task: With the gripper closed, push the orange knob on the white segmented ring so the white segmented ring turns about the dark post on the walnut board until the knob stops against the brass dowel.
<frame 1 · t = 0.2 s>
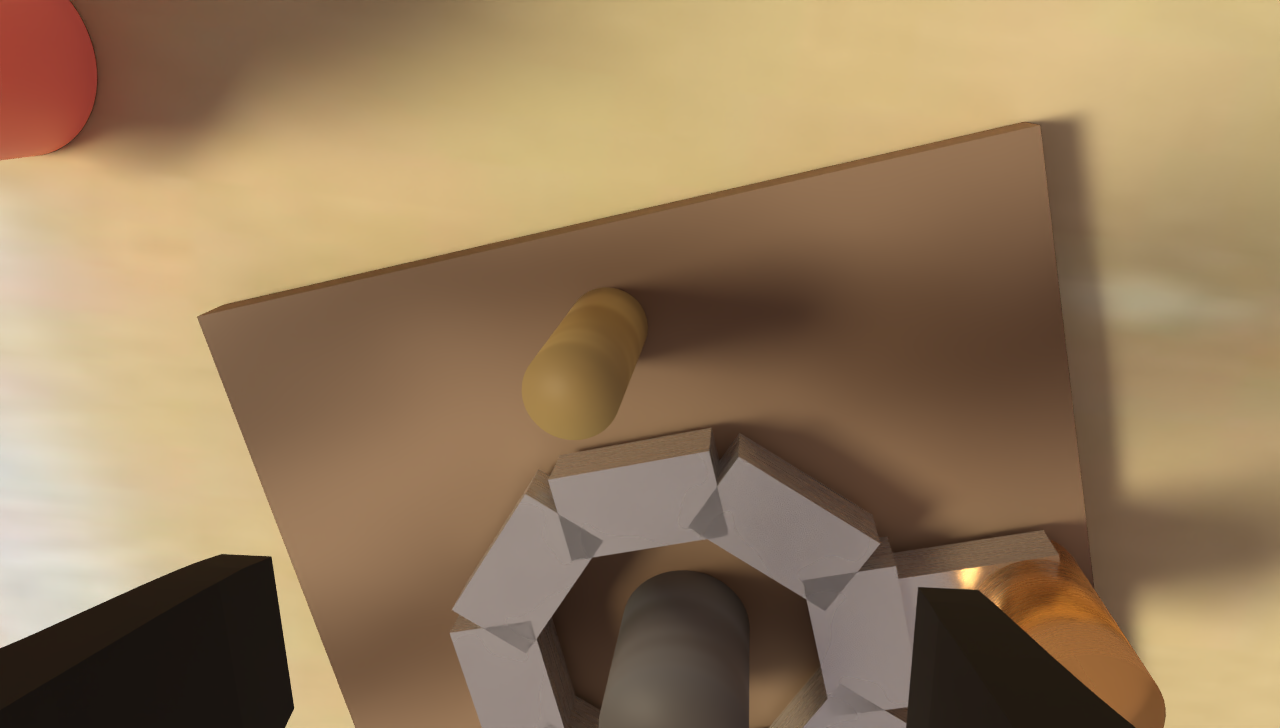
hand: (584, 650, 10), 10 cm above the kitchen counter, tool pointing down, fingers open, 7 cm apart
white segmented ring: (768, 681, 18), point 3 cm above the kitchen counter, hinge at 0.0°
peg base: (688, 601, 21), on the kitchen counter
figurine: (20, 54, 19), on the kitchen counter
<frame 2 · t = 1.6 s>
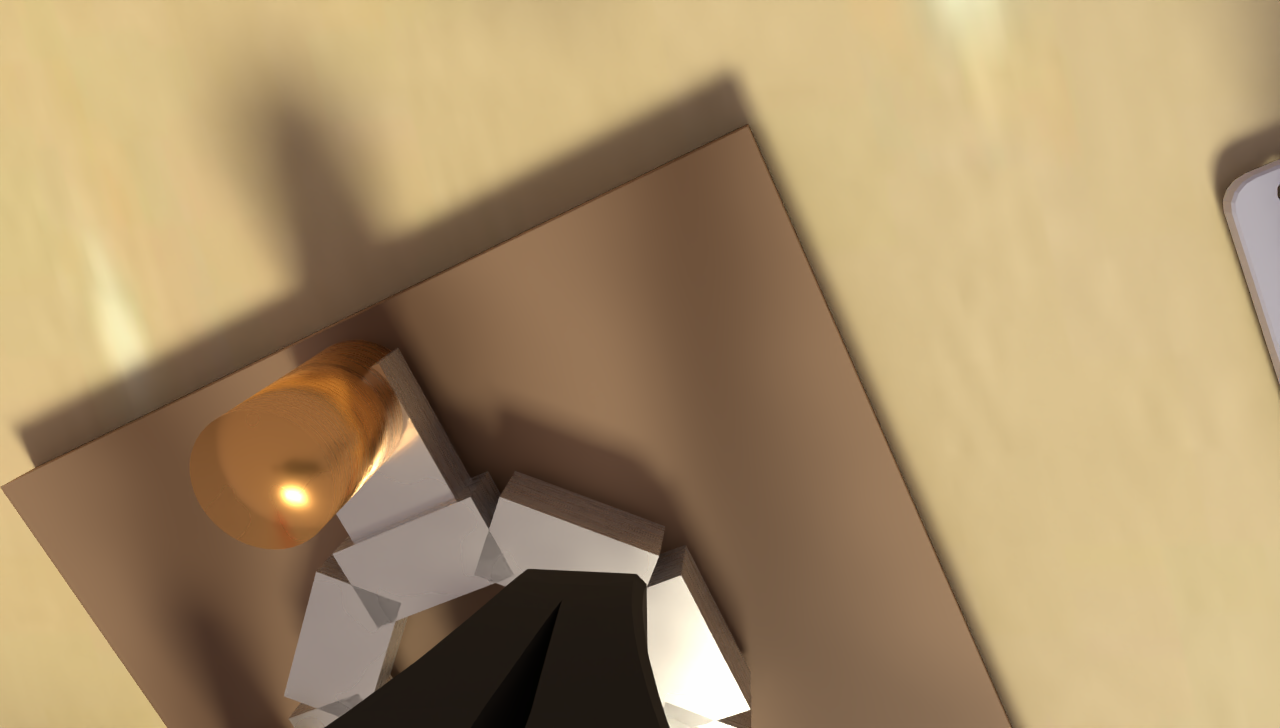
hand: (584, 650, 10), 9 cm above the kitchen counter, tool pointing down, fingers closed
white segmented ring: (456, 667, 18), point 3 cm above the kitchen counter, hinge at 0.0°
peg base: (538, 642, 21), on the kitchen counter
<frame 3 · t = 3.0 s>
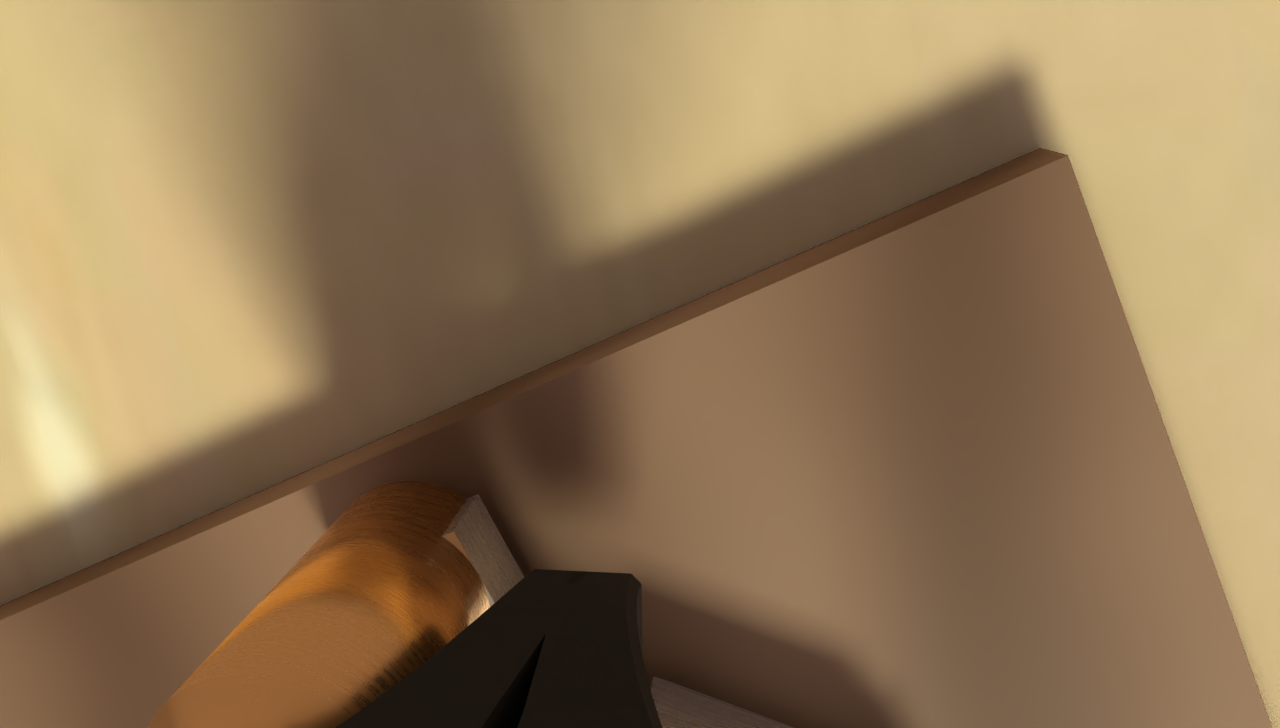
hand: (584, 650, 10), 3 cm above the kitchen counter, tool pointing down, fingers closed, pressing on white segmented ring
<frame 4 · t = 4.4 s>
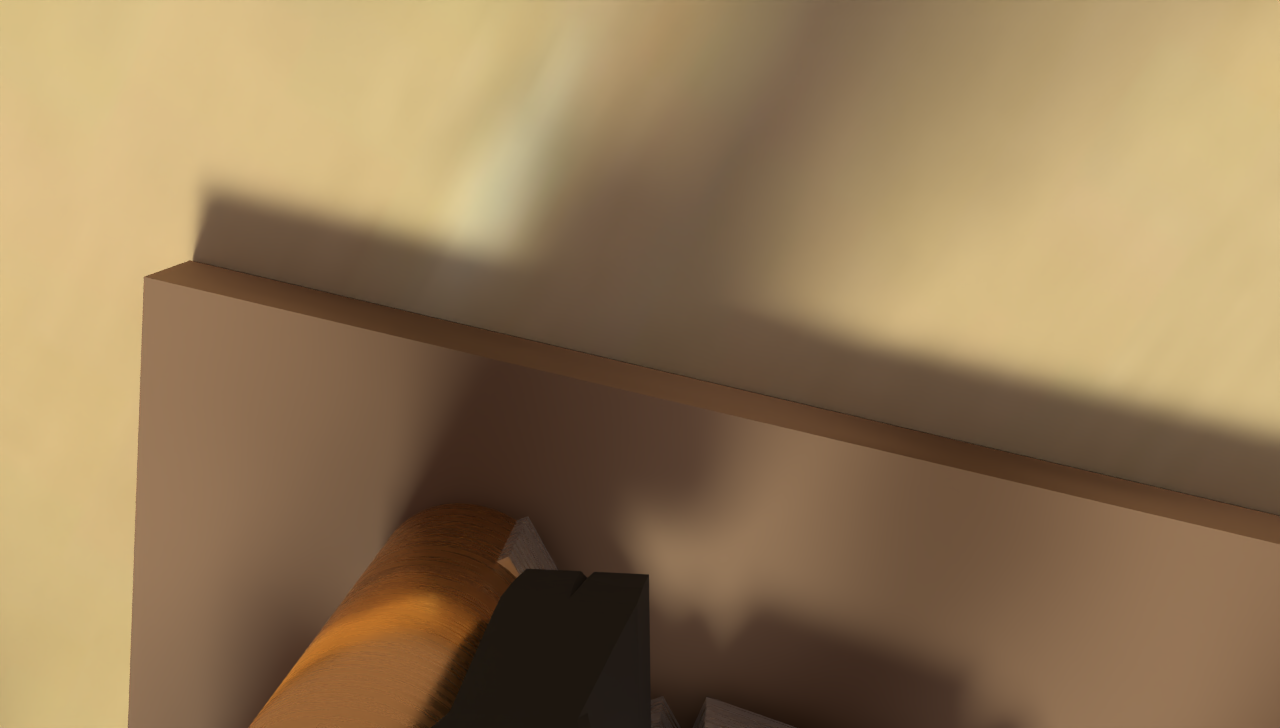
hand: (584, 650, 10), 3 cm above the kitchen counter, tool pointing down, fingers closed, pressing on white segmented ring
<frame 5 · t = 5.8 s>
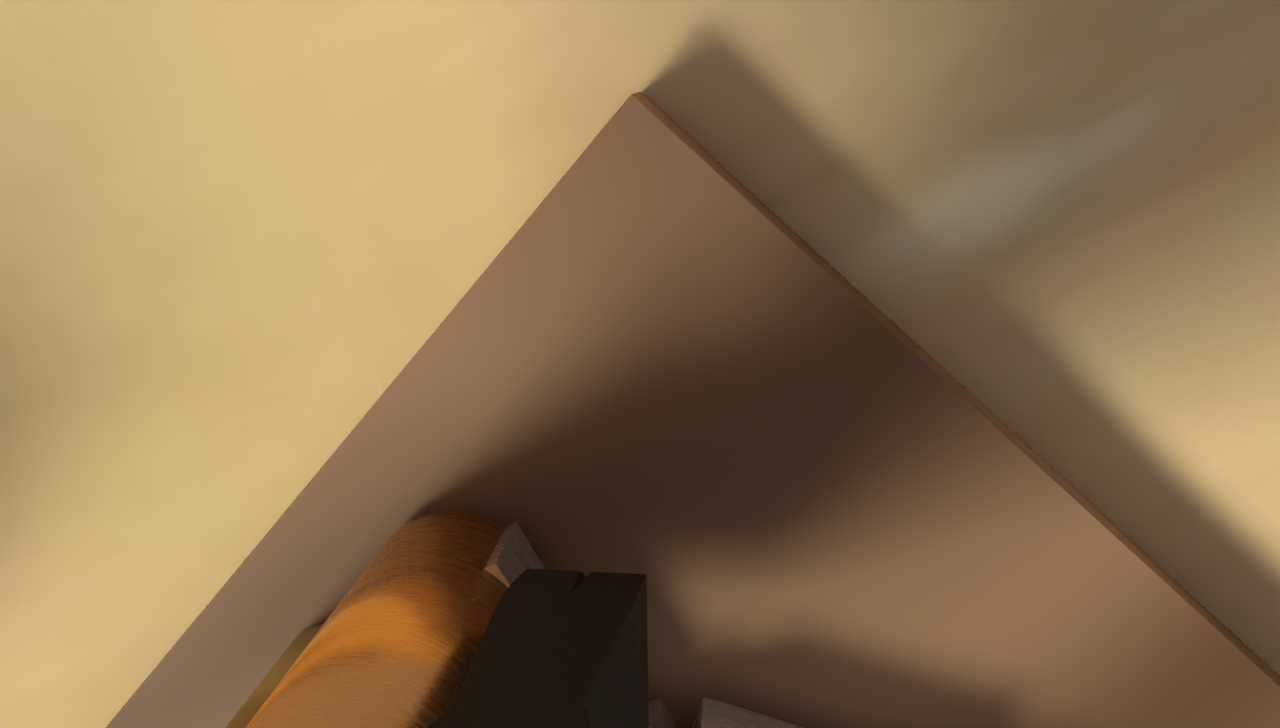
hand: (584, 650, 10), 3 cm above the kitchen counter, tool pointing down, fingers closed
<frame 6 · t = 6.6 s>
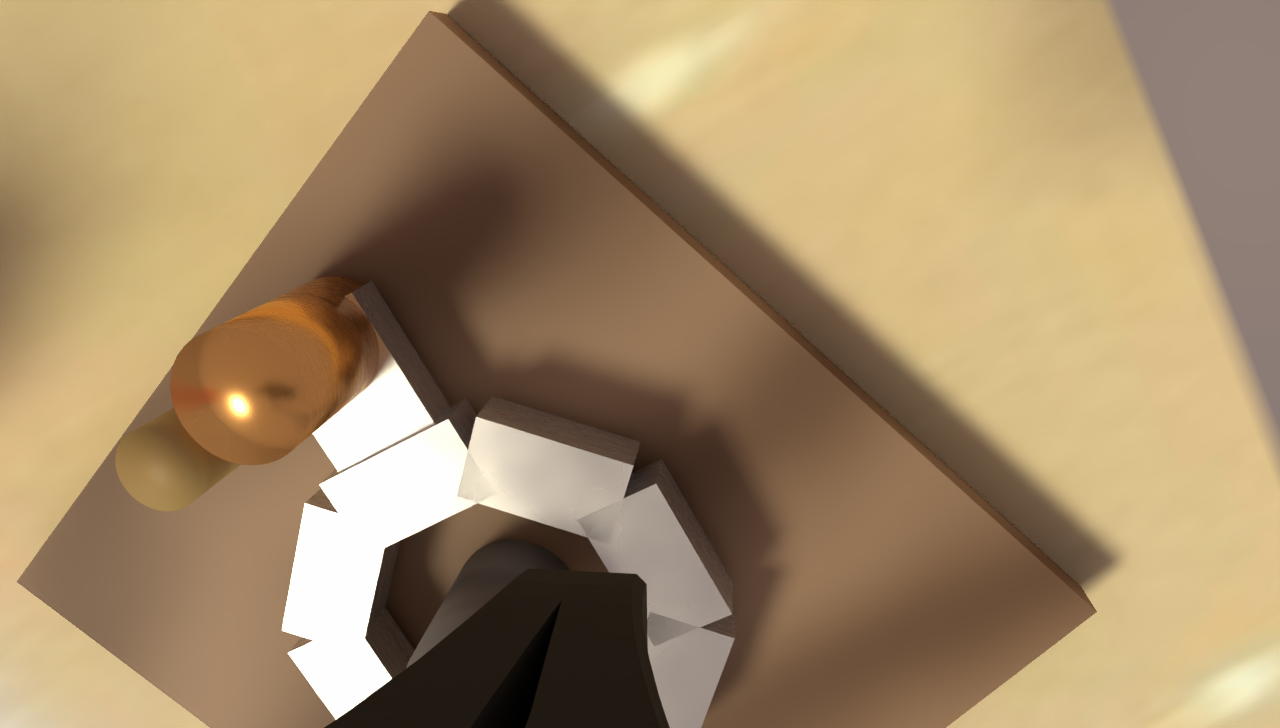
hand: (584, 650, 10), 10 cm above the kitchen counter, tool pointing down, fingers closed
white segmented ring: (443, 585, 18), point 3 cm above the kitchen counter, hinge at 70.2°
peg base: (528, 572, 22), on the kitchen counter
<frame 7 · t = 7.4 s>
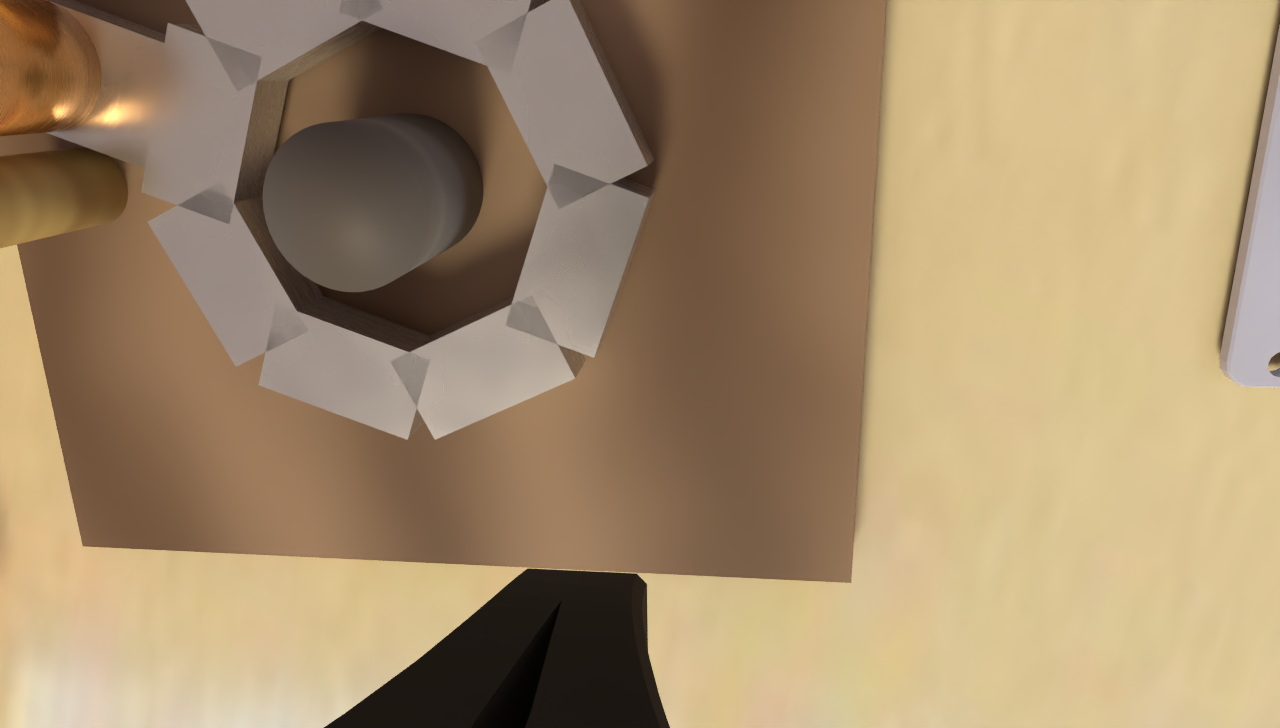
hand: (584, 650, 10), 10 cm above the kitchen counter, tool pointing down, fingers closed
white segmented ring: (274, 165, 16), point 3 cm above the kitchen counter, hinge at 70.2°
peg base: (431, 180, 19), on the kitchen counter
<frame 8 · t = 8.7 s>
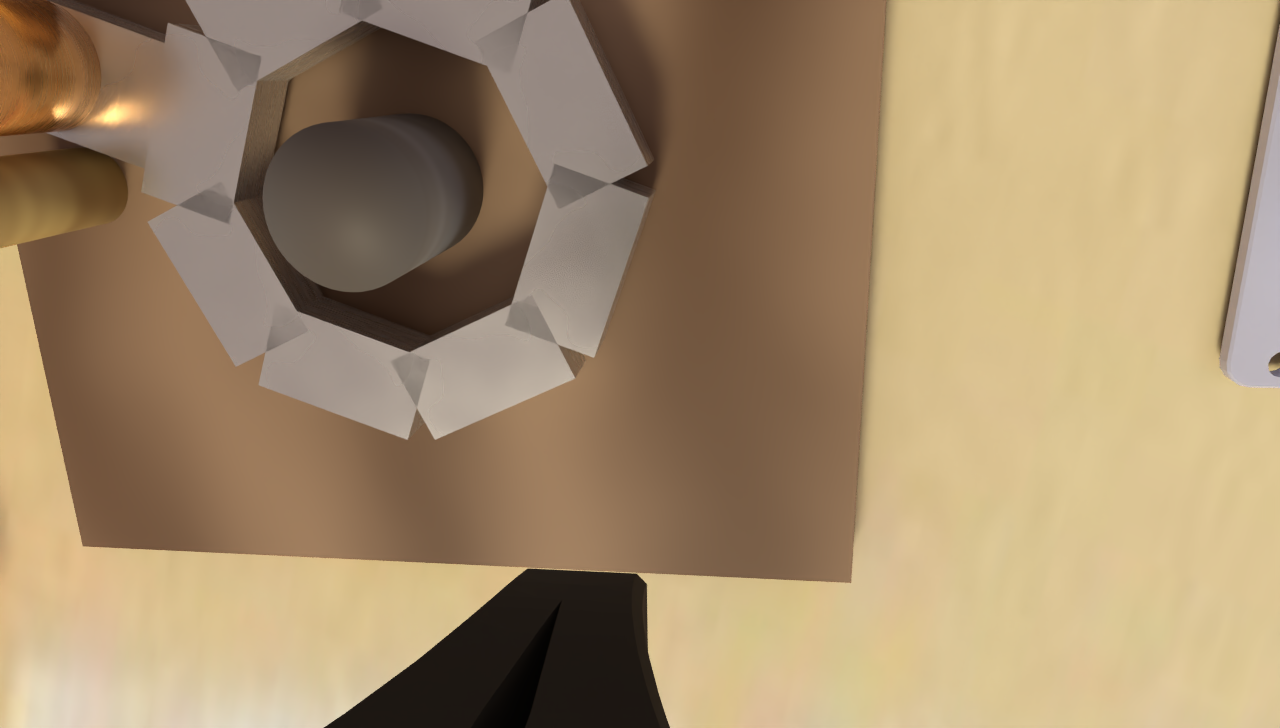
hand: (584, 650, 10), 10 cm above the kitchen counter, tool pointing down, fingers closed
white segmented ring: (274, 165, 16), point 3 cm above the kitchen counter, hinge at 70.2°
peg base: (431, 180, 19), on the kitchen counter
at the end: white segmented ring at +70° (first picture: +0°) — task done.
